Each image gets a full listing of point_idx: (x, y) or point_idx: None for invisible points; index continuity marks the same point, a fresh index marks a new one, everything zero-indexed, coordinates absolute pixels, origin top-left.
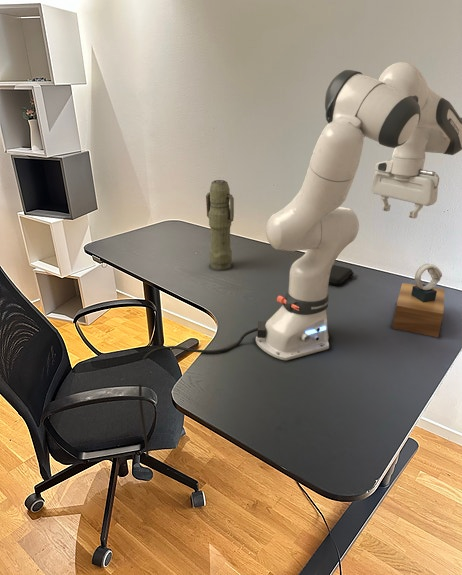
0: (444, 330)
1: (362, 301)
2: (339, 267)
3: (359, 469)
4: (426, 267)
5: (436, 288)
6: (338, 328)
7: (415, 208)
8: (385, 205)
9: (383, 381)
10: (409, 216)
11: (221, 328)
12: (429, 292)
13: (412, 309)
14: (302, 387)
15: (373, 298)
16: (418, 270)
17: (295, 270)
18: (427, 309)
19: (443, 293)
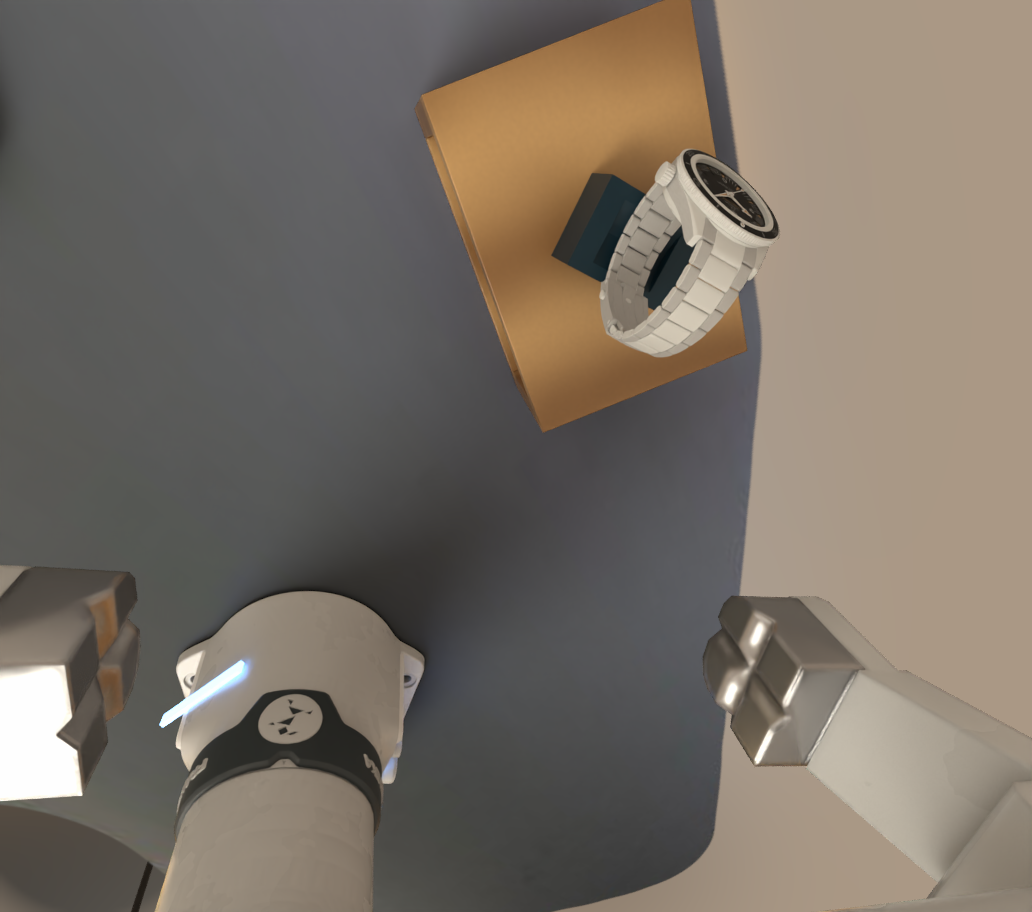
0: None
1: (251, 238)
2: None
3: (686, 836)
4: (703, 323)
5: (640, 15)
6: (358, 542)
7: (920, 864)
8: (15, 798)
9: (627, 654)
10: (710, 687)
11: (74, 819)
12: (675, 282)
13: (613, 401)
14: (485, 796)
15: (266, 148)
16: (642, 338)
17: None
18: (676, 363)
19: (696, 73)
